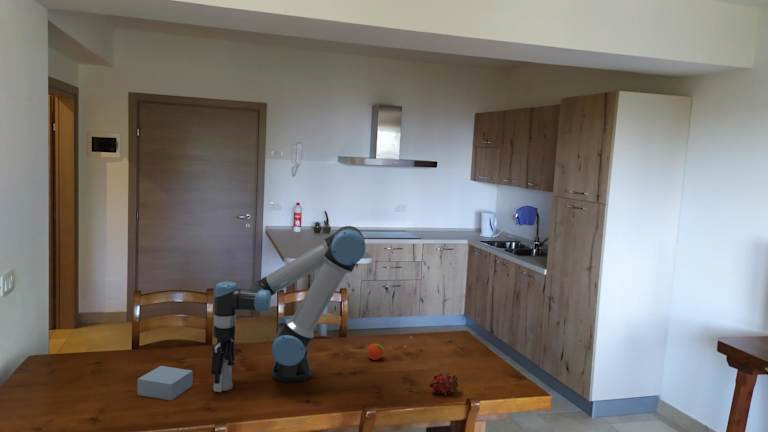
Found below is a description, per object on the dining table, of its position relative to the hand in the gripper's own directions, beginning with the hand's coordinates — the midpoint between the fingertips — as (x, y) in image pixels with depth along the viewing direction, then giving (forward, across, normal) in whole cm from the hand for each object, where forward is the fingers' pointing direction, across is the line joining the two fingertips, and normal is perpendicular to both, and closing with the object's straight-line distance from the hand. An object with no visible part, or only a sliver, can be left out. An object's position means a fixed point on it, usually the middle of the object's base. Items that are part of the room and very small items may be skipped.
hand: (222, 386), depth 199 cm
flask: (0, 0, 0) cm, 1 cm away
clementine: (0, -44, +49) cm, 66 cm away
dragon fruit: (0, -17, +79) cm, 81 cm away
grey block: (+1, +8, -18) cm, 19 cm away
